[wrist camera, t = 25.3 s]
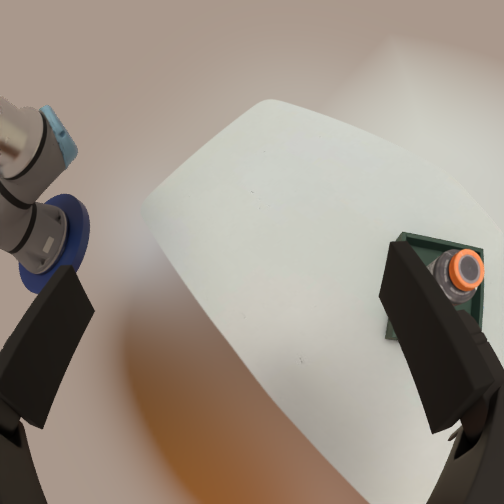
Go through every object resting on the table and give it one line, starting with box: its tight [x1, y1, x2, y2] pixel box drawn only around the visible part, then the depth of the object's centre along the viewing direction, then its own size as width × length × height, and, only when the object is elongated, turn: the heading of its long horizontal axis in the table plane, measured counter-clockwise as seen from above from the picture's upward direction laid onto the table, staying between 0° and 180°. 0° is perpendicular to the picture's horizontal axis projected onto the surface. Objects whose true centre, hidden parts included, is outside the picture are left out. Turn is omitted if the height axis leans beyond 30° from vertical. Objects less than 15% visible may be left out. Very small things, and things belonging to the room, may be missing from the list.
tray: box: [385, 232, 484, 340], centre depth 31 cm, size 13×13×3 cm
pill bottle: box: [427, 249, 484, 307], centre depth 27 cm, size 6×6×11 cm
